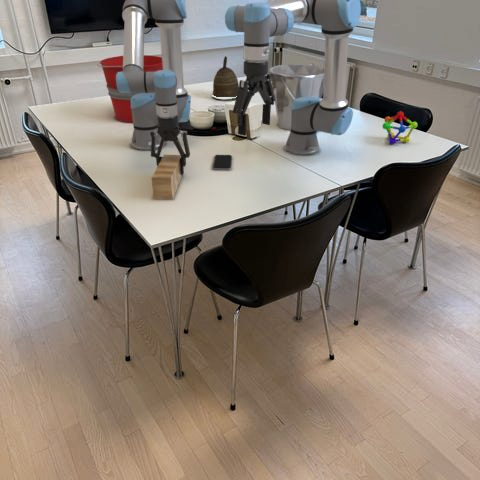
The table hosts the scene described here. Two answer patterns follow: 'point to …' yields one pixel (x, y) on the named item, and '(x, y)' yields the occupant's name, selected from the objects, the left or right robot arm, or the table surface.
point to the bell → (225, 82)
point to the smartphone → (222, 162)
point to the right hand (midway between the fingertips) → (254, 129)
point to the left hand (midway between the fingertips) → (172, 173)
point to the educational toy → (398, 128)
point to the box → (167, 177)
